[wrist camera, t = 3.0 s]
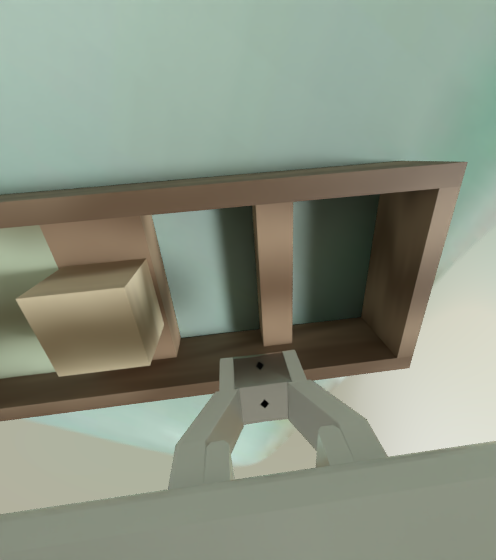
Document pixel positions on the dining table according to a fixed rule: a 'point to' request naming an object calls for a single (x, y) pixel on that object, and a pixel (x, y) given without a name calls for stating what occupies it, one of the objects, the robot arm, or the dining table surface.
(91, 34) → the dining table surface
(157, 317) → the block
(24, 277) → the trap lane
